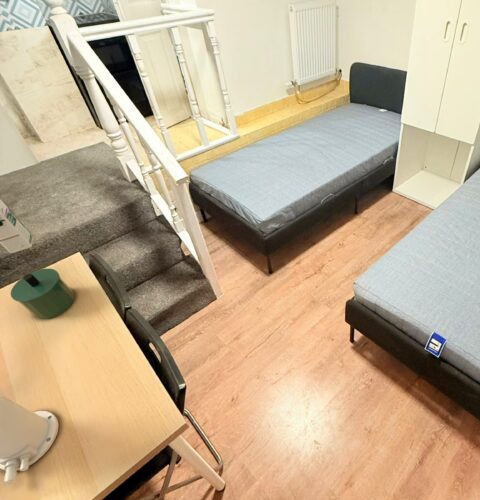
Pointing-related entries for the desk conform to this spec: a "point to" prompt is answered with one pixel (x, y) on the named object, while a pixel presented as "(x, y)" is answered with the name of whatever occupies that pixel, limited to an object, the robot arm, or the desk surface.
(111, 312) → the desk surface
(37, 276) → the tin lid
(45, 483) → the desk surface
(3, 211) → the syrup box
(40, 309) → the tin
